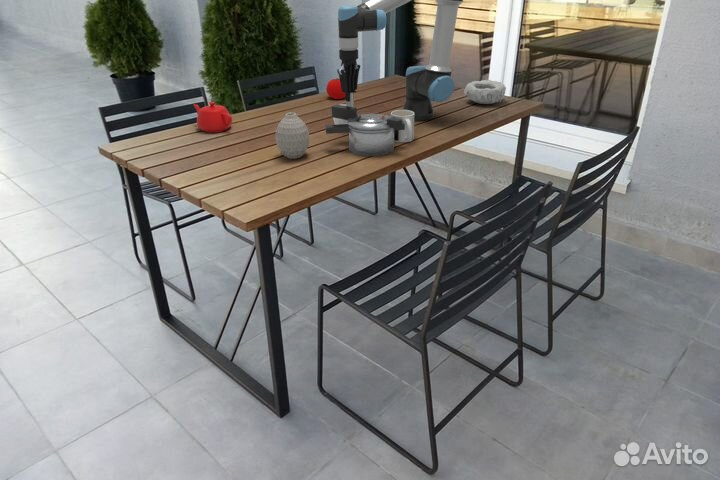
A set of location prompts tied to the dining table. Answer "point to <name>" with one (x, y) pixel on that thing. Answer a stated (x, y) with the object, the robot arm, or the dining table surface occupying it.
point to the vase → (292, 136)
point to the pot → (367, 139)
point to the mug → (408, 119)
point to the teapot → (213, 118)
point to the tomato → (335, 89)
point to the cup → (340, 121)
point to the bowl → (485, 91)
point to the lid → (365, 119)
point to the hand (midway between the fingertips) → (349, 108)
